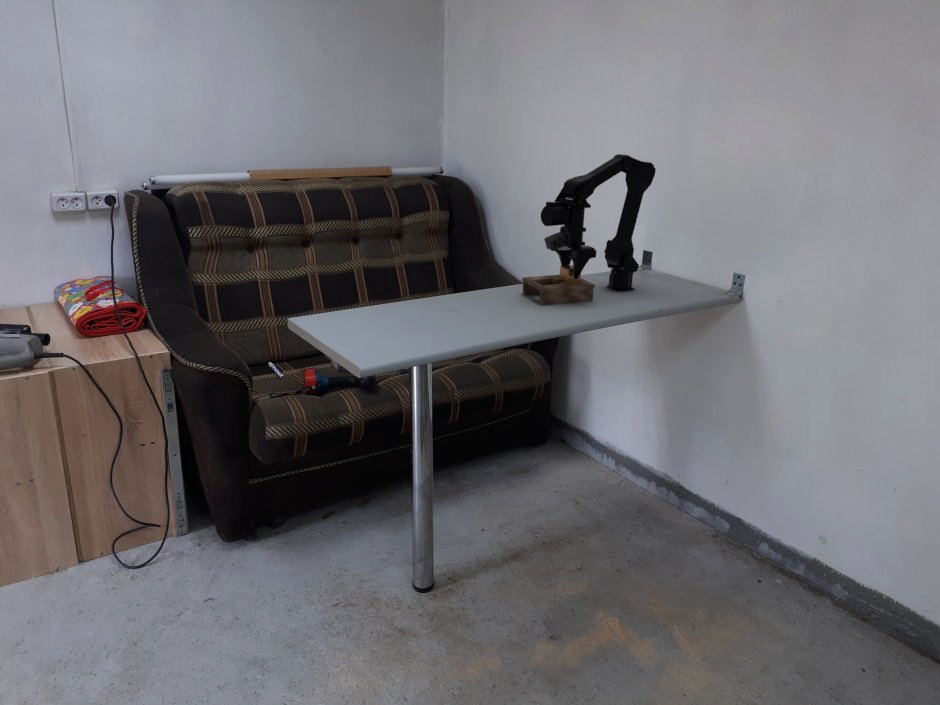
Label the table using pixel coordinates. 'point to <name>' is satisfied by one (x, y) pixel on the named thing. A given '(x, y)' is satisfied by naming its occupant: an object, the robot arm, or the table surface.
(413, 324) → the table surface
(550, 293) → the keyhole bracket
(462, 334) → the table surface
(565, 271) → the hanger peg
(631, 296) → the table surface
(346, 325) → the table surface
